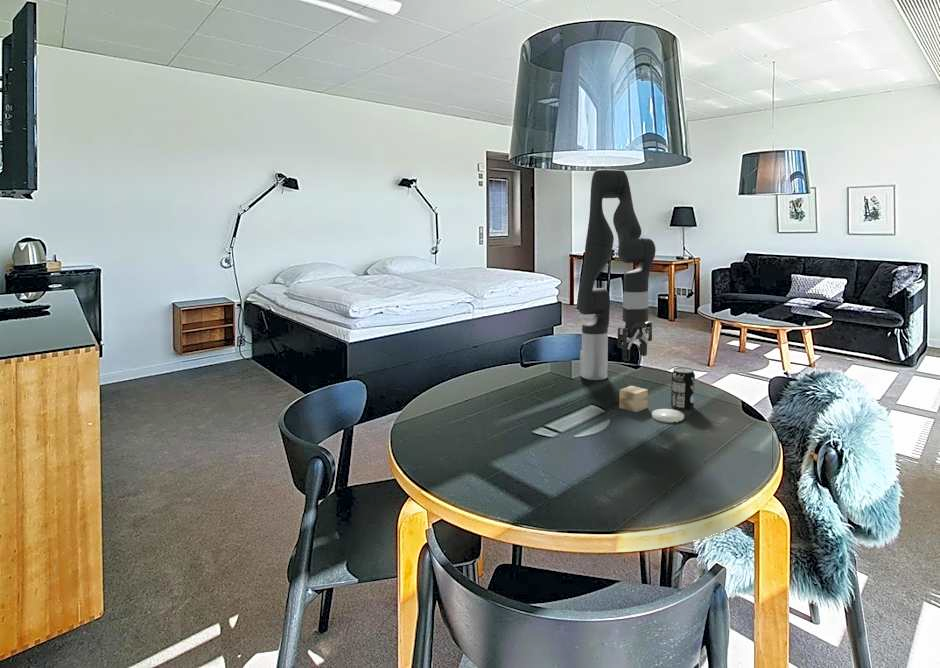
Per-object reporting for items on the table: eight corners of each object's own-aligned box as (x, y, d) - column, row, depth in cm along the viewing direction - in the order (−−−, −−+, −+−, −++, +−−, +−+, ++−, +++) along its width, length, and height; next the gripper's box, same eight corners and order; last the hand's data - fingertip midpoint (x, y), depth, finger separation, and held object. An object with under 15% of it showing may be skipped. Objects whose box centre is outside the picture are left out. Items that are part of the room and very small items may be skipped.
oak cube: (619, 408, 173) (619, 389, 172) (631, 403, 177) (631, 385, 176) (635, 412, 169) (636, 393, 167) (647, 407, 172) (647, 389, 171)
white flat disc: (645, 417, 164) (645, 414, 164) (662, 409, 170) (663, 406, 169) (672, 425, 157) (672, 421, 157) (690, 417, 163) (690, 414, 162)
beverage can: (690, 403, 174) (691, 366, 172) (696, 410, 168) (697, 372, 166) (668, 403, 175) (669, 366, 173) (674, 410, 169) (675, 372, 166)
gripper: (639, 301, 173) (638, 352, 177) (610, 307, 165) (610, 360, 168) (660, 304, 168) (658, 356, 171) (631, 310, 159) (631, 364, 162)
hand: (634, 358), depth 169 cm, fingers open, 8 cm apart
